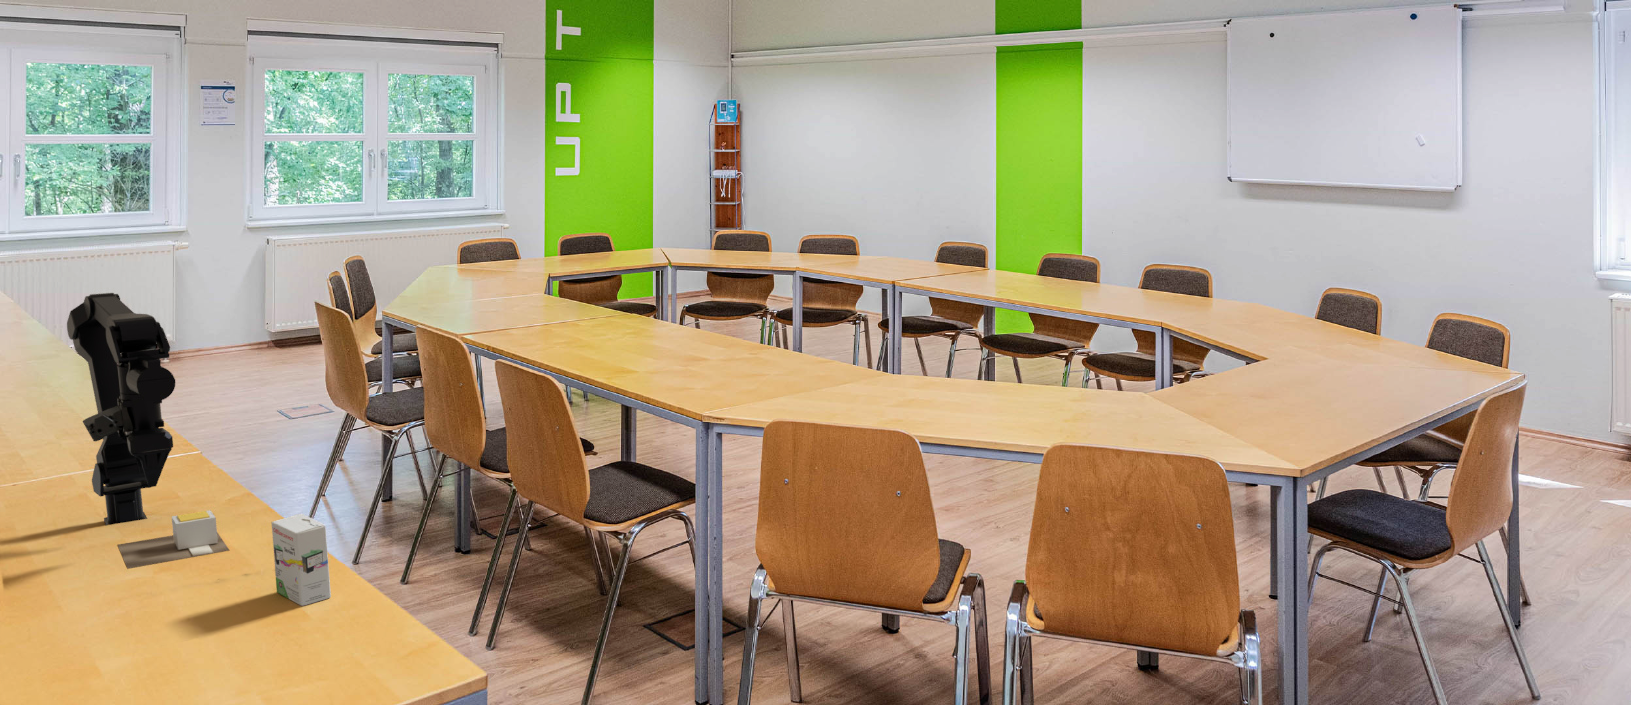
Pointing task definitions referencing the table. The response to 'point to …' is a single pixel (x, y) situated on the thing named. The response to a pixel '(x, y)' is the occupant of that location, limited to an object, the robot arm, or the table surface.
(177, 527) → the block
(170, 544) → the subfloor board
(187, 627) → the table surface
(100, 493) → the robot arm
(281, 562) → the ink box
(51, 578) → the table surface
